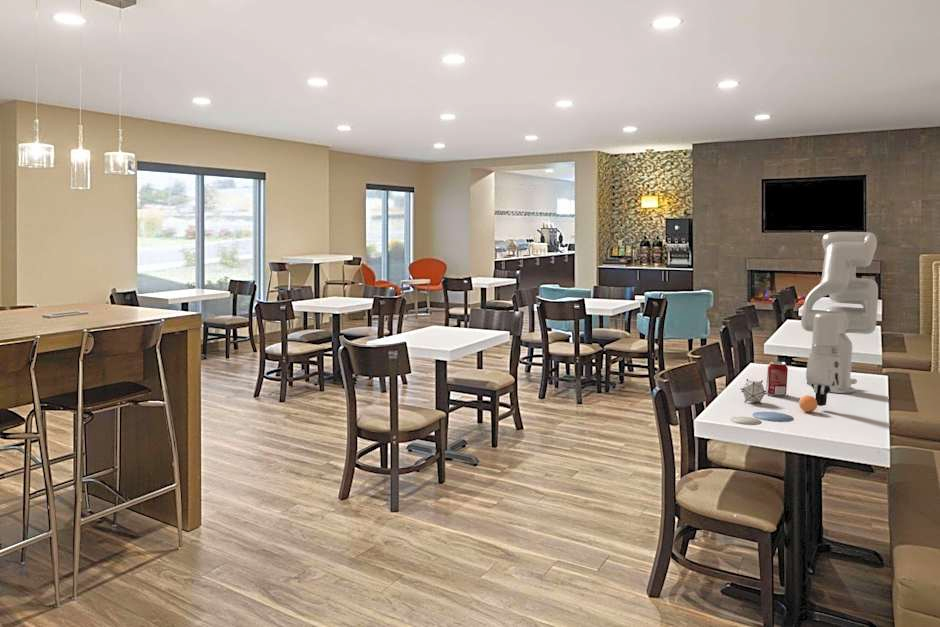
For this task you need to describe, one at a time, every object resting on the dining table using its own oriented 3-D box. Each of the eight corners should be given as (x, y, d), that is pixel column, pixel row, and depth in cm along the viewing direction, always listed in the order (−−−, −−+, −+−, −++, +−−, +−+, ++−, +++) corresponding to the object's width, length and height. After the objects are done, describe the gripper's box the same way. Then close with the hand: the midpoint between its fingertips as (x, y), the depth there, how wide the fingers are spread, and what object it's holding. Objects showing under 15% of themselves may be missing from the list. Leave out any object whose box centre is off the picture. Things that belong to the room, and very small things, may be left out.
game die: (746, 412, 251) (732, 386, 255) (768, 403, 252) (754, 378, 256) (752, 405, 243) (738, 378, 247) (776, 396, 244) (761, 370, 248)
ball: (797, 392, 238) (793, 409, 238) (811, 396, 233) (808, 412, 233) (807, 394, 241) (804, 410, 241) (822, 398, 236) (819, 414, 236)
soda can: (788, 397, 258) (790, 364, 257) (767, 396, 259) (769, 363, 258) (783, 393, 265) (785, 361, 263) (764, 392, 266) (766, 360, 265)
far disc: (744, 415, 231) (744, 415, 231) (767, 422, 223) (767, 422, 223) (723, 418, 227) (724, 418, 227) (746, 425, 219) (746, 425, 219)
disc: (770, 410, 238) (770, 410, 238) (801, 419, 228) (801, 418, 228) (744, 414, 233) (744, 413, 233) (774, 423, 222) (774, 422, 222)
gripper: (852, 353, 233) (848, 408, 235) (812, 346, 246) (808, 399, 248) (837, 354, 230) (833, 411, 232) (797, 347, 243) (793, 401, 245)
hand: (820, 404), depth 240 cm, fingers closed
